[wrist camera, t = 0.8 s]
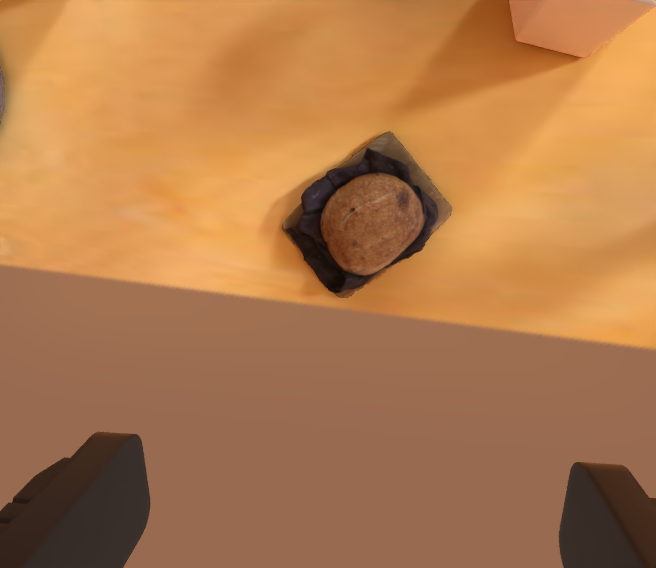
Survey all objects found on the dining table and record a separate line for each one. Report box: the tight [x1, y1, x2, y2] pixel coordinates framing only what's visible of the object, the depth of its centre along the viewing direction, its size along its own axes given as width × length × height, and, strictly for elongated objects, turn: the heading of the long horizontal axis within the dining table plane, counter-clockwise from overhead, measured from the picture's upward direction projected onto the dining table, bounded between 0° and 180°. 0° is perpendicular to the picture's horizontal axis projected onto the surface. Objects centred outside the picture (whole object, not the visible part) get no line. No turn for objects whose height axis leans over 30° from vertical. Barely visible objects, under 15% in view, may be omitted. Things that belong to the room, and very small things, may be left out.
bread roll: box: [283, 131, 452, 298], centre depth 33 cm, size 11×8×4 cm
